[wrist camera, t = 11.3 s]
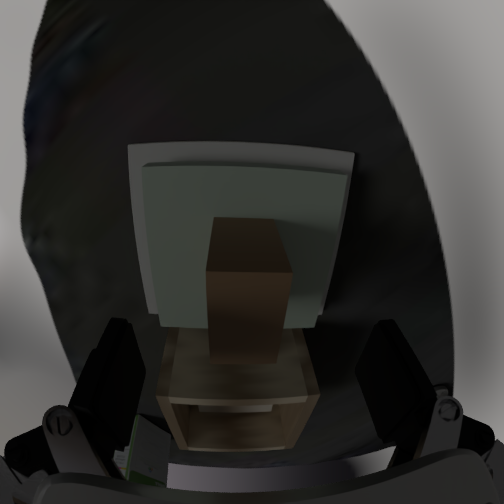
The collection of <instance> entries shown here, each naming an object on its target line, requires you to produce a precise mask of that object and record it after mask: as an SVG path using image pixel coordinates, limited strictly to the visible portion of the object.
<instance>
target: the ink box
mask: <svg viewBox="0 0 504 504" xmlns="http://www.w3.org/2000/svg"><path fill="white" fill-rule="evenodd" d="M170 440H171V434H169V433H167V432H166V431H164V430H162V429H161V428H159V427H157V426H156V425H154V424H153V423H151V422H150V421H148V420H147V419H145V418H144V417H142V416H141V415H139V414H137V415H136V416H135V421H134V425H133V430H132V435H131V440H130V444H129V446H128V447H126V446H125V449H124V452H121V451H117V450H115V453H114V457H113V459H114V461H115V463H116V464H117V466H118V468H119V469H120V471H121V472H122V474H123V475H124V477H125V478H126V480H127V481H130V482H134V483H139V484H145V485H151V486H157V487H164V488H167V474H168V461H169V450H170Z"/></svg>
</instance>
